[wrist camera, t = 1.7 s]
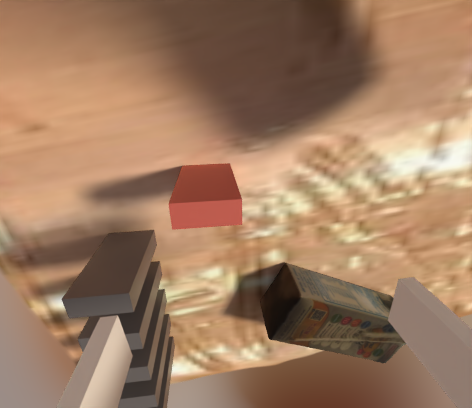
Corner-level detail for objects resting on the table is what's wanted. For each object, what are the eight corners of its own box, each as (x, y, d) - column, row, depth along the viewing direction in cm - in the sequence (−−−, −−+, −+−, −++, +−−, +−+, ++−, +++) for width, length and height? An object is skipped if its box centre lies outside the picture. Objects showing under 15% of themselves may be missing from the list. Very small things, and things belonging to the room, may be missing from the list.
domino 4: (131, 318, 33) (102, 401, 24) (169, 314, 34) (154, 394, 25) (134, 328, 34) (107, 413, 25) (170, 324, 35) (157, 406, 25)
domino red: (182, 165, 26) (168, 203, 17) (229, 163, 26) (241, 199, 17) (184, 183, 27) (172, 229, 18) (230, 181, 27) (242, 224, 18)
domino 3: (124, 292, 32) (91, 372, 22) (164, 289, 32) (147, 366, 23) (127, 304, 32) (96, 386, 23) (166, 300, 33) (151, 379, 24)
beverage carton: (361, 330, 40) (388, 371, 34) (255, 302, 35) (265, 345, 29) (391, 294, 37) (427, 332, 31) (282, 258, 32) (298, 295, 26)
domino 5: (137, 340, 35) (112, 426, 26) (173, 336, 36) (161, 419, 26) (139, 350, 36) (116, 436, 27) (174, 346, 36) (163, 429, 27)
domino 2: (117, 264, 30) (77, 339, 21) (159, 261, 30) (139, 332, 21) (120, 278, 31) (84, 355, 21) (162, 274, 31) (143, 348, 22)
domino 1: (109, 233, 28) (61, 299, 19) (154, 230, 28) (129, 293, 19) (112, 248, 29) (69, 318, 20) (156, 244, 29) (133, 312, 20)
